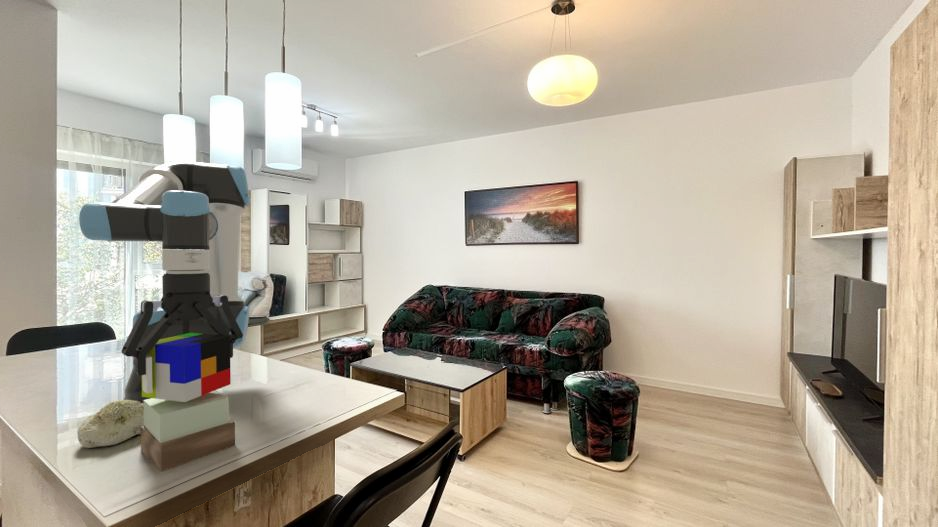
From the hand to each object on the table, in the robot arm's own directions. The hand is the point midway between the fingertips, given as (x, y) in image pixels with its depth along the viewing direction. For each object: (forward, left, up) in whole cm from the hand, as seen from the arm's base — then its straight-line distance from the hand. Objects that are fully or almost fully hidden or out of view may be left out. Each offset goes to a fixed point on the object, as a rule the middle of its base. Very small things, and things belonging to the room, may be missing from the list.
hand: (188, 382), depth 77 cm
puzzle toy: (0, 0, -2) cm, 2 cm away
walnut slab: (0, 0, -13) cm, 13 cm away
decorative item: (-17, -7, -13) cm, 22 cm away
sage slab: (0, 0, -8) cm, 8 cm away
